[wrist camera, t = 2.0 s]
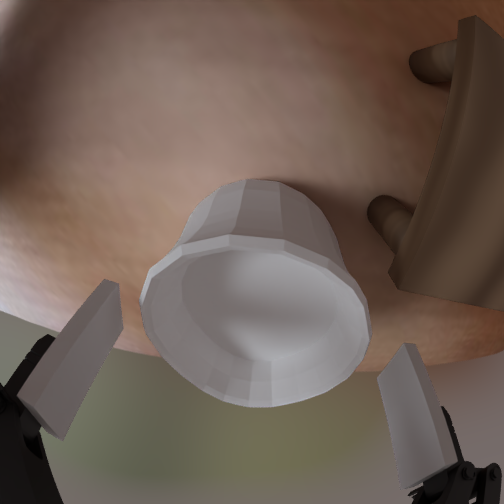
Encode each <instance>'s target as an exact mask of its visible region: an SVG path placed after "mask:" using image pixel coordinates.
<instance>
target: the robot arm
mask: <svg viewBox="0 0 504 504" xmlns="http://www.w3.org/2000/svg"><path fill="white" fill-rule="evenodd" d="M122 330H123V320H122V311H121V301H120V290H119V283H116V282H113V281H109V280H106V279H104V280H103V281H102V282H101V283H100V284H99V286H98V287H97V288H96V289H95V290H94V291H93V293H92V294H91V295H90V296H89V297H88V299H87V300H86V301H85V302H84V303H83V305H82V306H81V307H80V308H79V309H78V311H77V312H76V313H75V314H74V316H73V317H72V318H71V319H70V321H69V322H68V323H67V325H66V326H65V327H64V328H63V330H62V331H61V332H60V334H59V335H58V336H57V338H55V337H53V336H51V335H49V334H47V335H45V336H44V337H43V338H41V339H39V340H38V341H37V342H36V343H35V345H34V346H33V348H32V349H31V351H30V352H29V353H28V354H27V355H26V357H25V359H24V360H23V361H22V362H21V364H20V365H19V366H18V368H17V369H16V371H15V372H14V374H13V375H12V376H11V378H10V379H9V381H8V382H7V384H6V385H5V386H4V387H3V386H2V385H1V383H0V504H64V503H63V501H62V499H61V497H60V494H59V491H58V489H57V486H56V483H55V481H54V478H53V475H52V472H51V469H50V466H49V463H48V460H47V456H46V453H45V449H44V446H43V442H42V438H41V434H40V432H39V430H40V428H41V426H42V427H43V428H44V429H45V430H46V431H47V432H48V433H49V434H51V435H53V436H54V437H56V438H58V439H60V440H61V441H63V440H64V438H65V436H66V434H67V431H68V430H69V427H70V425H71V423H72V421H73V419H74V417H75V415H76V413H77V411H78V409H79V407H80V405H81V403H82V401H83V400H84V398H85V396H86V394H87V392H88V390H89V388H90V386H91V384H92V383H93V381H94V379H95V377H96V375H97V373H98V371H99V370H100V368H101V366H102V365H103V363H104V361H105V359H106V357H107V356H108V354H109V352H110V351H111V349H112V347H113V345H114V344H115V342H116V340H117V339H118V337H119V335H120V334H121V332H122ZM377 381H378V385H379V389H380V392H381V397H382V401H383V405H384V409H385V413H386V417H387V421H388V426H389V430H390V435H391V439H392V445H393V449H394V455H395V460H396V466H397V471H398V477H399V483H400V490H403V489H407V488H411V487H414V486H416V485H418V484H420V483H422V482H423V486H421V487H419V488H417V489H415V490H413V491H411V492H410V493H409V494H408V496H411V495H414V494H416V493H417V494H416V495H414V496H413V497H412V498H413V499H414V500H413V502H412V504H469V500H470V499H473V498H475V497H476V502H474V503H472V504H499V501H500V492H501V478H502V473H501V469H500V467H499V465H498V464H496V463H492V464H490V465H489V466H487V467H486V468H475V467H474V465H473V464H472V463H471V462H469V461H464V459H463V456H462V453H461V449H460V446H459V443H458V439H457V436H456V433H454V432H455V430H454V427H453V426H452V421H451V418H450V415H449V414H448V413H447V411H446V410H445V408H444V407H443V406H440V403H439V401H438V398H437V395H436V393H435V390H434V387H433V385H432V383H431V380H430V378H429V375H428V372H427V370H426V368H425V365H424V363H423V361H422V358H421V356H420V354H419V352H418V349H417V347H416V345H415V344H410V343H403V344H402V346H401V347H400V348H399V350H398V351H397V353H396V354H395V355H394V357H393V358H392V359H391V361H390V362H389V363H388V365H387V366H386V367H385V368H384V370H383V371H382V372H381V373H380V375H379V376H378V377H377Z"/></svg>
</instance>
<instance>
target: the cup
mask: <svg viewBox="0 0 504 504" xmlns="http://www.w3.org/2000/svg"><path fill="white" fill-rule="evenodd" d="M139 304H140V309H141V315H142V320H143V326H144V329H145V332H146V335H147V336H148V338H149V339H150V341H151V342H152V343H153V345H154V346H155V348H156V349H157V351H158V352H159V353H160V355H161V356H162V358H164V359H165V360H166V361H167V362H168V363H169V364H170V365H171V366H172V367H173V368H174V369H175V370H176V371H177V372H178V373H179V374H181V375H182V376H183V377H184V378H186V379H187V380H188V381H190V382H191V383H192V384H194V385H195V386H197V387H198V388H199V389H201V390H202V391H204V392H206V393H208V394H209V395H211V396H213V397H215V398H217V399H219V400H222V401H224V402H228V403H232V404H236V405H240V406H245V407H276V406H281V405H286V404H290V403H294V402H299V401H303V400H306V399H309V398H312V397H314V396H317V395H320V394H323V393H325V392H327V391H329V390H330V389H332V388H334V387H335V386H336V385H338V384H340V383H341V382H343V381H344V380H346V379H347V378H349V376H350V375H351V374H352V373H353V371H354V370H355V369H356V368H357V366H358V365H359V364H360V363H361V361H362V360H363V359H364V357H365V354H366V352H367V349H368V346H369V343H370V340H371V337H372V329H371V322H370V315H369V309H368V303H367V299H366V297H365V295H364V294H363V292H362V290H361V289H360V287H359V285H358V283H357V282H356V280H355V279H354V278H353V277H352V276H351V275H350V274H349V272H348V271H347V269H346V266H345V264H344V261H343V258H342V255H341V251H340V248H339V244H338V240H337V238H336V236H335V234H334V232H333V229H332V227H331V225H330V223H329V222H328V220H327V219H326V217H325V215H324V214H323V212H322V211H321V209H320V208H319V207H318V206H317V205H316V204H314V203H313V202H312V201H311V200H310V199H309V198H308V197H307V196H305V195H304V194H303V193H301V192H299V191H297V190H295V189H293V188H291V187H289V186H287V185H285V184H283V183H281V182H278V181H268V180H256V179H245V180H241V181H237V182H234V183H230V184H227V185H224V186H221V187H220V188H218V189H217V190H216V191H214V192H213V193H212V194H210V195H209V196H208V197H206V198H205V199H204V200H202V201H201V202H200V203H199V204H198V205H197V207H196V208H195V209H194V211H193V212H192V213H191V215H190V216H189V219H188V221H187V223H186V225H185V228H184V230H183V232H182V234H181V237H180V238H179V240H178V241H177V243H176V244H175V246H174V247H173V248H172V249H171V251H170V252H169V253H168V254H167V255H166V256H165V257H164V258H163V259H162V260H160V261H159V262H158V263H157V264H155V265H154V266H153V267H151V268H150V269H149V272H148V275H147V278H146V281H145V283H144V286H143V289H142V293H141V296H140V299H139Z"/></svg>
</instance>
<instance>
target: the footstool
mask: <svg viewBox="0 0 504 504" xmlns="http://www.w3.org/2000/svg"><path fill="white" fill-rule="evenodd" d="M409 65H410V68H411V71H412V72H413V74H414V75H415V77H416V78H417V79H419V80H420V81H422V82H424V83H436V82H449V81H452V82H451V88H450V93H449V98H448V103H447V108H446V112H445V116H444V121H443V125H442V129H441V133H440V136H439V140H438V144H437V147H436V151H435V154H434V157H433V160H432V164H431V167H430V170H429V173H428V176H427V179H426V182H425V185H424V188H423V190H422V193H421V196H420V199H419V201H418V204H417V207H416V209H415V212H414V214H412V213H410V212H409V211H408V210H407V209H406V208H404V207H403V206H402V205H401V204H400V203H398V202H397V201H396V200H395V199H393V198H392V197H390V196H388V195H381V196H378V197H376V198H375V199H373V200H372V202H371V203H370V205H369V207H368V211H367V216H368V219H369V221H370V223H371V224H372V225H373V226H374V228H375V229H376V230H377V231H378V233H379V234H380V235H381V237H382V238H383V239H384V240H385V242H386V243H387V244H388V246H389V247H390V248H391V250H392V251H393V252H394V254H395V255H396V256H395V258H394V260H393V263H392V265H391V267H390V269H389V271H388V273H389V275H390V277H391V278H392V280H393V282H394V283H395V285H396V287H397V288H398V290H403V291H408V292H412V293H417V294H422V295H427V296H431V297H436V298H441V299H446V300H450V301H455V302H460V303H465V304H470V305H474V306H479V307H484V308H489V309H494V310H499V311H504V39H503V38H502V37H501V36H500V35H499V34H497V33H496V32H495V31H494V30H493V29H492V28H491V27H489V26H488V25H487V24H486V23H485V22H484V21H482V20H481V19H480V18H479V17H477V16H476V15H474V16H471V17H467V18H464V19H461V20H458V36H457V39H455V40H452V41H448V42H444V43H441V44H437V45H434V46H430V47H427V48H424V49H421V50H418V51H415V52H413V53H412V54H411V56H410V59H409Z"/></svg>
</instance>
